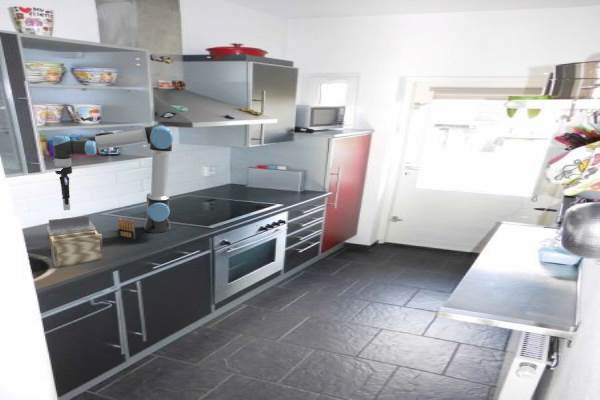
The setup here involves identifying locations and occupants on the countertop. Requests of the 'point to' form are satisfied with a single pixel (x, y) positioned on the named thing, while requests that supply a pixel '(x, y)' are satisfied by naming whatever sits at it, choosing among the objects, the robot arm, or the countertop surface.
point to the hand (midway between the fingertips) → (66, 209)
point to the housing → (75, 248)
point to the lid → (69, 225)
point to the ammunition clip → (126, 229)
